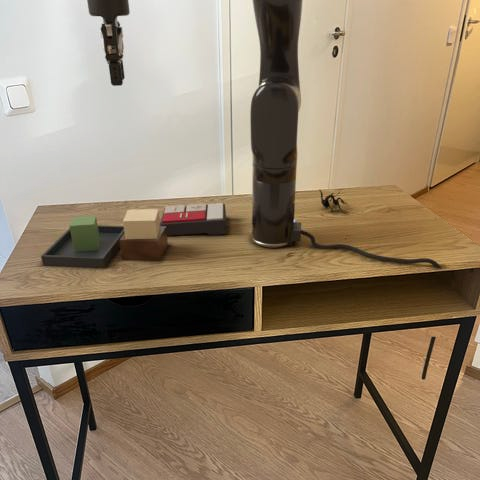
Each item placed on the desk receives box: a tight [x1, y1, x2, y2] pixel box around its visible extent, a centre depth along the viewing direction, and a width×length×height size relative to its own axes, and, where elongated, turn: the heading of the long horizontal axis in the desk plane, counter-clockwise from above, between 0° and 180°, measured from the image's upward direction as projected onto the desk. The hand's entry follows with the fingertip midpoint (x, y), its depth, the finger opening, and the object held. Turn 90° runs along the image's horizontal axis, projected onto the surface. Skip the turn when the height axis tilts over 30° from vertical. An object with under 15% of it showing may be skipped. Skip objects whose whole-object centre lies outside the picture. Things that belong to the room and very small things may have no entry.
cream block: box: [122, 208, 161, 239], centre depth 105 cm, size 6×6×4 cm
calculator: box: [160, 202, 227, 237], centre depth 119 cm, size 11×4×15 cm
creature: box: [318, 189, 349, 213], centre depth 128 cm, size 8×5×8 cm
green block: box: [69, 215, 100, 252], centre depth 108 cm, size 5×5×6 cm
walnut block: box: [119, 226, 169, 262], centre depth 107 cm, size 8×8×4 cm
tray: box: [40, 224, 125, 269], centre depth 109 cm, size 13×17×2 cm
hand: (118, 82), depth 101 cm, fingers open, 8 cm apart
